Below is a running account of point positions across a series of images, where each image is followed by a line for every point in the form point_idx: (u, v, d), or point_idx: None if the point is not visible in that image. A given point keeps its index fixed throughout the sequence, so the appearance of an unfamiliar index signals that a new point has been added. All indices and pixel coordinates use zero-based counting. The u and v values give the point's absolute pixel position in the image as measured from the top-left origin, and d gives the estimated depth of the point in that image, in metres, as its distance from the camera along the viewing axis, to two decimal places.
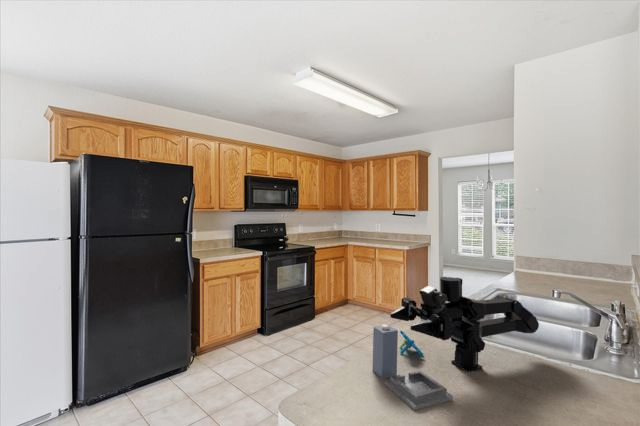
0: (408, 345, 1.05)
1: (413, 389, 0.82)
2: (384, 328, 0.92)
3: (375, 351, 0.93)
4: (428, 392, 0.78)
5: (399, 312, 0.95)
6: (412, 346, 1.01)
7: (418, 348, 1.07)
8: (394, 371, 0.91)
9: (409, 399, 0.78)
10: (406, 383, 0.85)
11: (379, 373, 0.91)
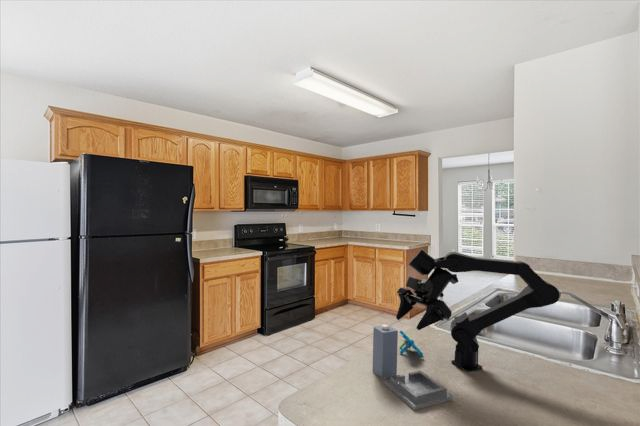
0: (408, 345, 1.05)
1: (413, 389, 0.82)
2: (384, 328, 0.92)
3: (375, 351, 0.93)
4: (428, 392, 0.78)
5: (402, 309, 1.01)
6: (412, 346, 1.01)
7: None
8: (394, 371, 0.91)
9: (409, 399, 0.78)
10: (406, 383, 0.85)
11: (379, 373, 0.91)
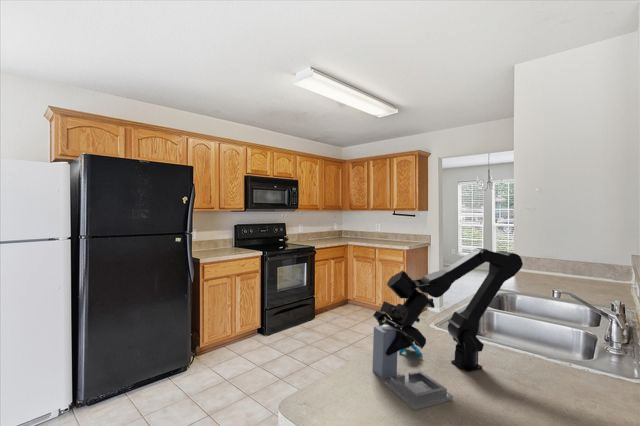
0: None
1: (413, 389, 0.82)
2: (384, 328, 0.91)
3: (375, 351, 0.93)
4: (428, 392, 0.78)
5: None
6: None
7: (417, 348, 1.07)
8: (394, 371, 0.91)
9: (409, 399, 0.78)
10: (406, 383, 0.85)
11: (379, 373, 0.91)
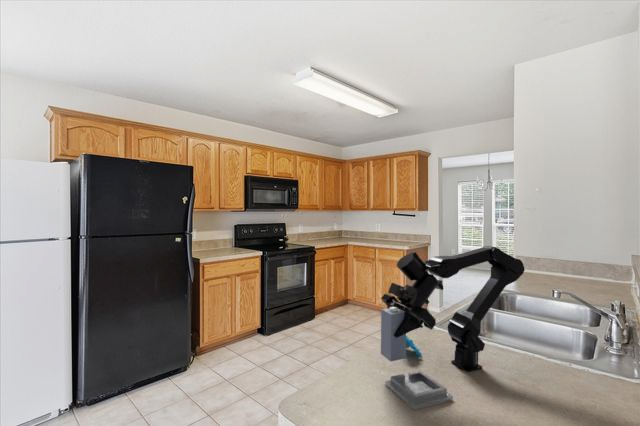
0: (406, 345, 1.05)
1: (413, 389, 0.82)
2: (392, 310, 0.89)
3: (383, 334, 0.91)
4: (428, 392, 0.78)
5: None
6: (409, 346, 1.01)
7: (417, 348, 1.07)
8: (403, 354, 0.89)
9: (409, 399, 0.78)
10: (406, 383, 0.85)
11: (387, 356, 0.88)
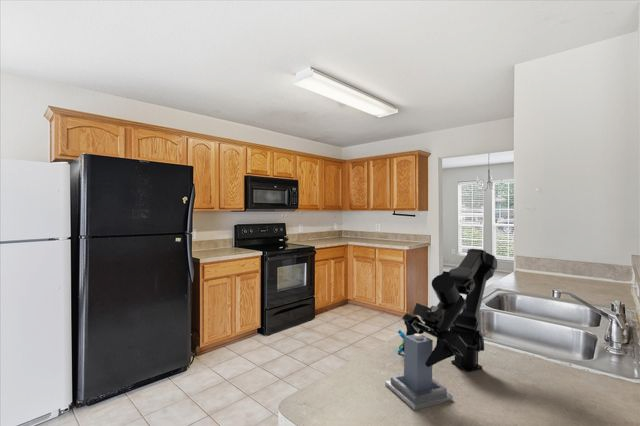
0: None
1: None
2: (417, 338, 0.82)
3: (407, 364, 0.83)
4: (428, 392, 0.78)
5: None
6: None
7: None
8: (429, 386, 0.82)
9: (409, 399, 0.78)
10: None
11: (413, 388, 0.81)
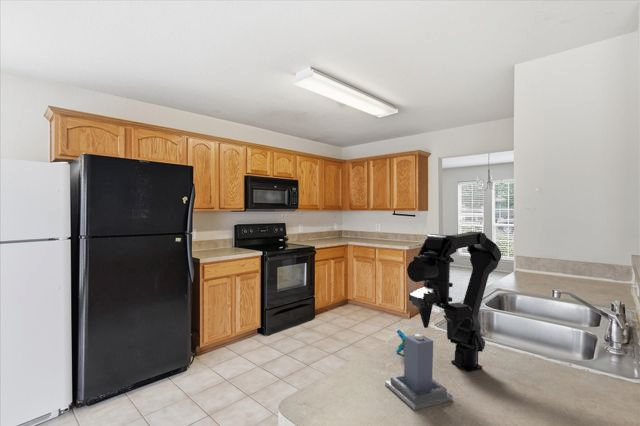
0: (404, 344, 1.05)
1: None
2: (418, 338, 0.82)
3: (407, 364, 0.83)
4: (428, 392, 0.78)
5: (424, 316, 0.94)
6: None
7: None
8: (429, 386, 0.81)
9: (409, 399, 0.78)
10: None
11: (413, 389, 0.81)
